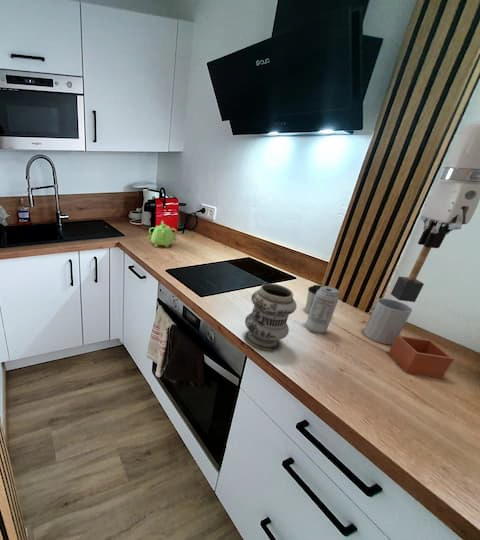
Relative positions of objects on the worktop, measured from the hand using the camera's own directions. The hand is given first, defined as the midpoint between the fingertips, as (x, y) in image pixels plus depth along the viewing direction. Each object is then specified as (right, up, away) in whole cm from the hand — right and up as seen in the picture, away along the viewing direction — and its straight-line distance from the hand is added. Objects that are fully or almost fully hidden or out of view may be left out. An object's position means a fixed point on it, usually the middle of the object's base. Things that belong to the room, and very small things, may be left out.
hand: (428, 245), depth 78 cm
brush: (-1, -15, +7) cm, 17 cm away
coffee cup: (-14, -23, +27) cm, 38 cm away
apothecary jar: (-41, -29, +11) cm, 51 cm away
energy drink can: (-19, -27, +17) cm, 37 cm away
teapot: (-60, +9, +97) cm, 114 cm away
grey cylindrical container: (-1, -28, +14) cm, 32 cm away
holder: (-2, -34, +2) cm, 34 cm away
